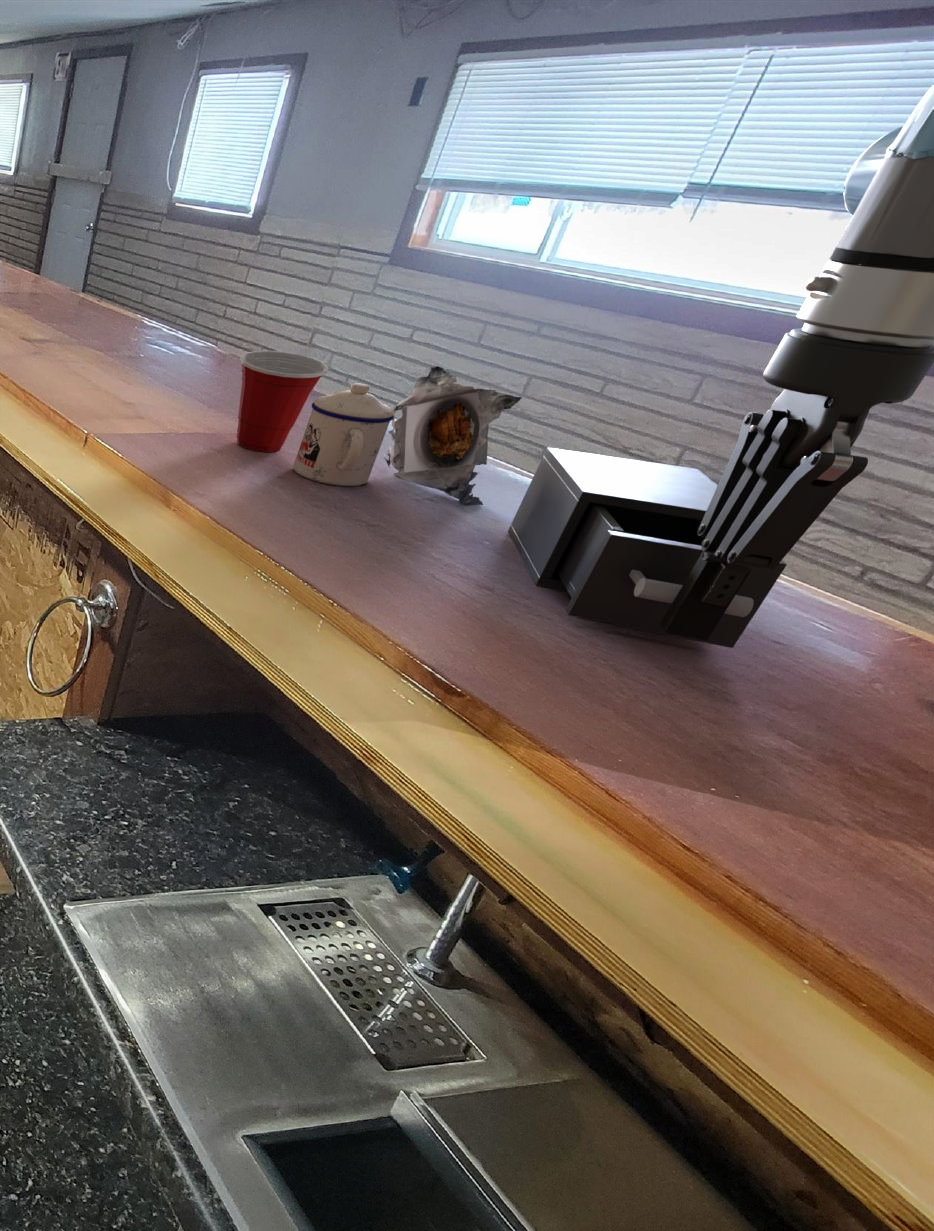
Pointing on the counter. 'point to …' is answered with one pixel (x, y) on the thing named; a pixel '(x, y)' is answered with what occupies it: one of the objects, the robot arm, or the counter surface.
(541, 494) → the small drawer cabinet
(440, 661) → the counter surface
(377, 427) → the teacup with lid
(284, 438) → the plastic cup
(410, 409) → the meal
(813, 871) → the counter surface
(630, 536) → the open drawer unit
